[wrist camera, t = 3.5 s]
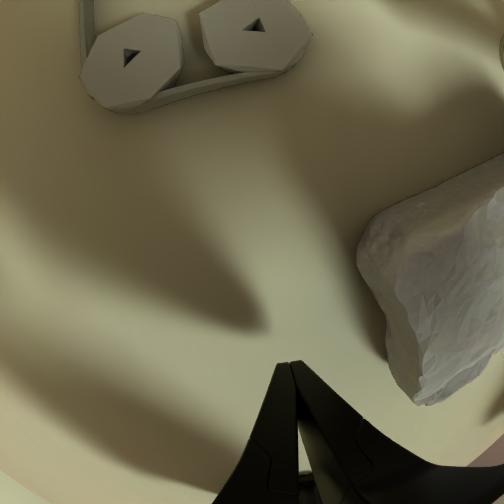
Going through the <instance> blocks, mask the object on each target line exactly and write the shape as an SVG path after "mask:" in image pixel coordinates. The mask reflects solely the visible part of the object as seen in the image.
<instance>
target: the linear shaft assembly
mask: <svg viewBox="0 0 504 504" xmlns="http://www.w3.org/2000/svg"><path fill="white" fill-rule="evenodd" d="M499 52H500V60H501V64H502V68H503V70H504V34H503V36H502V38H501V41H500V49H499Z"/></svg>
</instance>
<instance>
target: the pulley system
mask: <svg viewBox="0 0 504 504" xmlns="http://www.w3.org/2000/svg"><path fill="white" fill-rule="evenodd" d="M199 18H200V25H201V31H202V38H203V45H204V50H205V51H206V53H207V54H208V55H209V57H210V58H211V60H212V62H213V64H214V65H215V66H218V67H220V68H222V69H223V70H225V71H227V72H231V73H236V74H232V75H227V76H222V77H216V78H212V79H207V80H202V81H198V82H194V83H190V84H186V85H182V86H178V87H174V88H173V86H174V85H175V82H176V80H177V78H178V76H179V74H180V72H181V70H182V68H183V66H184V53H183V48H182V38H181V33H180V30H179V27H178V24H177V21H176V20H175V19H171V18H166V17H161V16H156V15H150V14H144V13H142V14H140V15H138V16H136V17H133V18H131V19H129V20H127V21H125V22H123V23H121V24H119V25H117V26H115V27H113V28H111V29H109V30H107V31H105V32H103V33H102V34H100V35H98V37H97V39H96V40H95V30H94V12H93V0H80V8H79V27H80V52H81V65H82V71H81V74H80V76H79V77H80V79H81V82H82V84H83V86H84V88H85V89H86V91H87V93H88V94H89V95H90V96H91V98H92V99H94V100H95V101H97V102H98V103H99V104H100V105H101V106H102V107H103V108H108V109H109V110H111V111H112V112H120V113H129V114H136V113H141V112H145V111H148V110H151V109H154V108H157V107H159V106H162V105H165V104H168V103H171V102H174V101H177V100H180V99H184V98H187V97H190V96H194V95H197V94H201V93H204V92H208V91H212V90H216V89H219V88H224V87H228V86H232V85H236V84H241V83H246V82H251V81H256V80H261V79H267V78H273V77H276V76H277V75H280V74H282V73H285V72H287V71H288V70H289V69H291V68H292V67H293V66H294V65H295V64H296V63H297V61H298V60H299V59H300V58H301V57H302V55H303V54H304V52H305V50H306V47H307V45H308V43H309V41H310V39H311V37H312V35H313V33H312V32H311V30H310V28H309V27H308V25H307V24H306V22H305V20H304V19H303V17H302V16H301V14H300V13H299V12H298V11H297V10H296V8H295V7H294V6H293V5H292V4H291V3H290V2H289V1H288V0H221V1H219V2H217V3H216V4H214V5H212V6H210V7H209V8H207V9H205V10H204V11H202V12H200V13H199ZM254 28H255V30H256V31H252V30H253V29H254Z"/></svg>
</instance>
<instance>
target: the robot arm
mask: <svg viewBox="0 0 504 504" xmlns="http://www.w3.org/2000/svg"><path fill="white" fill-rule="evenodd" d="M298 428H299V431H300V434H301V438H302V441H303V444H304V447H305V450H306V453H307V456H308V460H309V463H310V466H311V469H312V472H313V475H309V476H303V477H299V463H298ZM212 504H504V464H502V465H498V466H491V467H456V466H441V465H436V464H433V463H430V462H428V461H425V460H424V459H422V458H420V457H418V456H417V455H415V454H413V453H412V452H410V451H408V450H407V449H405V448H404V447H402V446H400V445H399V444H397V443H396V442H394V441H393V440H391V439H390V438H388V437H387V436H385V435H384V434H383V433H381V432H380V431H379V430H378V429H376V428H375V427H374V426H373V425H372V424H370V423H369V422H368V421H367V420H366V419H363V417H362V416H361V415H360V414H359V413H358V412H357V411H356V410H355V409H353V408H352V407H351V406H350V405H349V404H348V403H347V402H346V401H345V400H344V399H343V398H341V397H340V396H339V395H338V394H337V393H336V392H335V391H334V390H333V389H332V388H331V387H330V386H328V385H327V384H326V383H325V382H324V381H323V380H322V379H321V378H320V377H319V376H318V375H317V374H316V373H315V372H314V371H313V370H311V369H310V368H309V367H308V366H307V365H306V364H305V363H304V362H303V361H302V360H298V361H291V362H290V363H288V362H284V363H278V364H277V365H276V367H275V370H274V373H273V375H272V378H271V381H270V384H269V387H268V390H267V392H266V395H265V398H264V401H263V403H262V406H261V409H260V412H259V414H258V417H257V419H256V422H255V425H254V427H253V430H252V432H251V435H250V439H249V440H248V442H247V445H246V447H245V449H244V452H243V454H242V456H241V458H240V460H239V462H238V464H237V466H236V467H235V469H234V471H233V473H232V474H231V476H230V477H229V479H228V480H227V482H226V483H225V485H224V486H223V488H222V489H221V491H220V492H219V494H218V495H217V497H216V498H215V500H214V501H213V503H212Z"/></svg>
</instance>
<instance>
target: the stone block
mask: <svg viewBox="0 0 504 504" xmlns="http://www.w3.org/2000/svg"><path fill="white" fill-rule="evenodd" d="M356 265H357V268H358V270H359V272H360V274H361V276H362V277H363V279H364V280H365V281H366V282H367V285H368V286H369V288H370V289H371V290H372V292H373V293H374V296H375V299H376V301H377V303H378V304H379V306H380V308H381V309H382V310H383V311H384V313H385V317H386V337H385V345H386V350H387V361H388V364H389V368H390V371H391V373H392V375H393V377H394V379H395V381H396V383H397V385H398V386H399V387H400V388H401V389H402V390H403V391H404V392H405V393H406V394H407V396H408V397H409V398H410V399H411V401H412V402H414V403H415V404H416V405H417V406H420V405H423V404H425V405H426V406H429V405H432V404H435V403H440V402H443V401H444V400H446V399H447V398H448V397H450V396H451V395H452V394H453V393H454V392H456V391H457V390H459V389H460V388H462V387H463V386H465V385H466V384H468V383H470V382H471V381H472V380H474V379H475V378H476V377H477V376H479V375H480V374H481V373H482V371H483V370H484V369H485V367H486V366H487V364H488V362H489V359H490V358H491V356H492V355H494V354H495V353H497V352H498V351H499V350H501V349H502V348H503V347H504V153H502V154H500V155H498V156H496V157H494V158H492V159H490V160H488V161H486V162H484V163H482V164H480V165H478V166H476V167H474V168H472V169H470V170H468V171H466V172H464V173H462V174H459V175H457V176H455V177H453V178H451V179H449V180H447V181H445V182H443V183H442V184H440V185H439V186H437V187H433V188H430V189H428V190H426V191H424V192H421V193H419V194H417V195H415V196H412V197H410V198H408V199H406V200H404V201H402V202H398V203H397V204H395V205H393V206H391V207H389V208H386V209H384V210H382V211H381V212H379V213H378V214H377V215H376V216H374V217H373V218H372V219H371V220H370V222H369V224H368V226H367V228H366V230H365V232H364V234H363V236H362V238H361V240H360V242H359V244H358V248H357V258H356Z"/></svg>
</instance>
